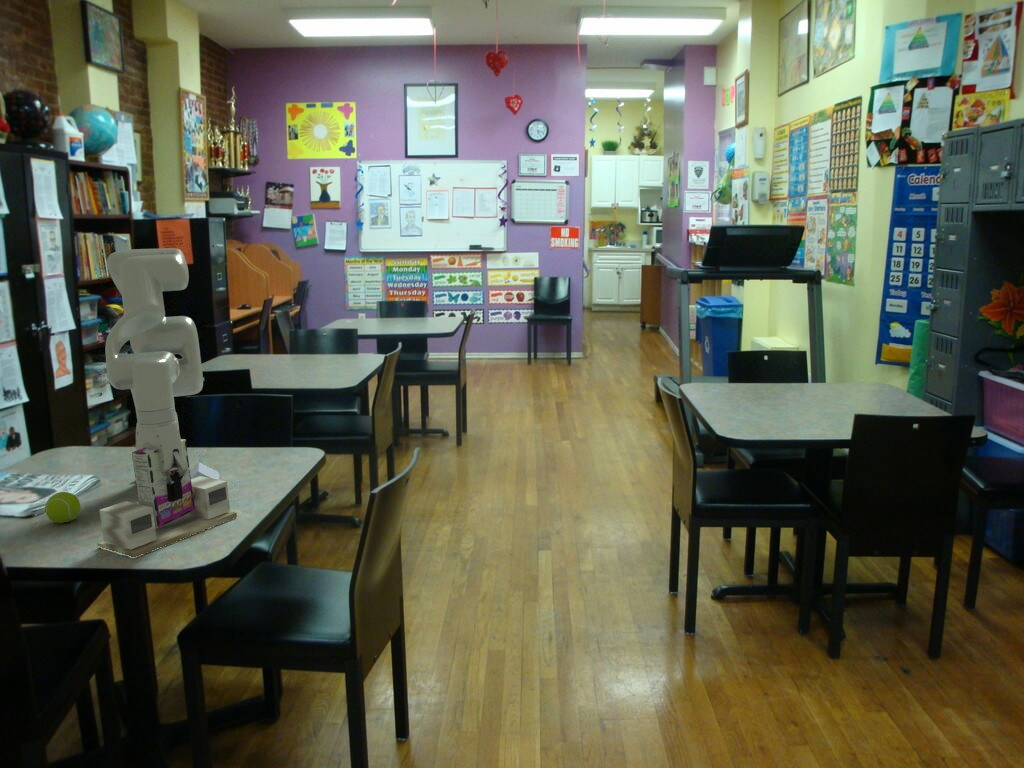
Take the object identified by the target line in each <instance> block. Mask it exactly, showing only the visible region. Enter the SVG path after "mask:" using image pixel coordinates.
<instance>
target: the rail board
mask: <svg viewBox="0 0 1024 768" xmlns="http://www.w3.org/2000/svg"><path fill="white" fill-rule="evenodd" d="M191 484H192V491H193V499H194V507H195V510H194V511H192V512H190V513H188V514H186V515H184V516H182V517H180V518H178V519H176V520H174V521H172V522H170V523H168V524H165V525H163V526H161V527H155V522H154V514H153V508H152V507H148V506H144V505H140V504H139V503H135V502H131V501H127V500H125V501H122V502H119V503H116V504H113V505H110V506H107V507H104V508H100V509H99V510H98V511H99V518H100V524H101V525H100V526H101V531H102V532H101V533H102V539H103V540H102V541H99V542H97V547H98V546H100V547H102V548H106V549H109V550H112V551H116V552H119V553H122V554H125V555H129V556H131V557H136V556H139V555H141V554H145V553H147V552H150V551H152V550H155V549H157V548H160V547H163V546H165V545H168V544H170V545H172V544H171V543H173V542H175V543H177V542H176V541H178V540H180V539H183V538H185V537H188V536H190V535H192V534H195V533H197V532H200V531H203V530H205V529H208V528H210V527H213V526H215V527H217V526H216V525H218V526H220V525H222V524H221V523H223V522H225V523H227V522H229V521H228V520H230V521H232V520H234V519H233V518H235V519H237V518H238V513H237V512H236V511H232V510H231V507H230V506H231V505H230V497H229V486H228V481H227V480H224V479H223V480H221V479H219V480H218V479H213V478H208V477H203V476H199V477H196V478H193V479H191ZM236 517H237V518H236ZM231 519H232V520H231ZM226 521H227V522H226ZM219 524H220V525H219ZM223 524H224V523H223ZM213 528H214V527H213ZM210 529H211V528H210ZM208 530H209V529H208ZM205 531H206V530H205ZM203 532H204V531H203ZM200 533H201V532H200ZM195 535H196V534H195ZM190 537H191V536H190ZM188 538H189V537H188ZM185 539H186V538H185ZM183 540H184V539H183ZM180 541H181V540H180ZM178 542H179V541H178ZM173 544H174V543H173ZM168 546H169V545H168ZM165 547H166V546H165ZM163 548H164V547H163ZM160 549H161V548H160ZM155 551H156V550H155ZM150 553H151V552H150ZM145 555H146V554H145Z"/></svg>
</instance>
